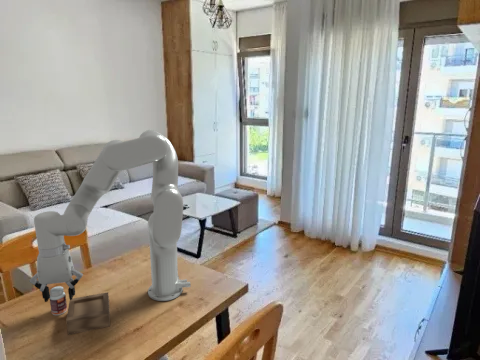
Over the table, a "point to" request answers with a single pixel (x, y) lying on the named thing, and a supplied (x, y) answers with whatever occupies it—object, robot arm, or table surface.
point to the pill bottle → (58, 301)
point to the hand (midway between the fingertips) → (59, 297)
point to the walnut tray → (88, 313)
